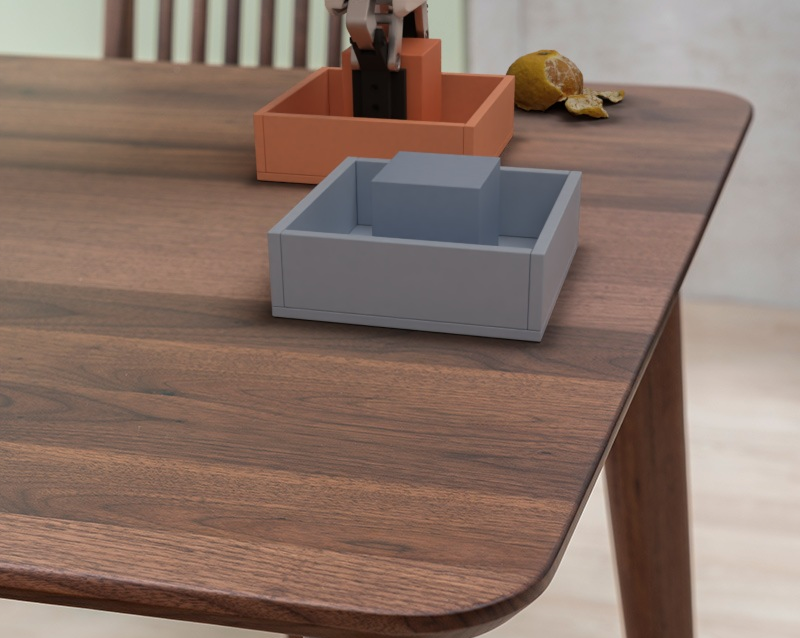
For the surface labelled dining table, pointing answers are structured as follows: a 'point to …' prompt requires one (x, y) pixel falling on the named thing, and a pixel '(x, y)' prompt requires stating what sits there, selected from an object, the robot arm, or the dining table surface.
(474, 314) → the slate bin
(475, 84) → the terracotta bin
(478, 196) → the slate block
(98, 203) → the dining table surface
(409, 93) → the terracotta block
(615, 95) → the fruit
